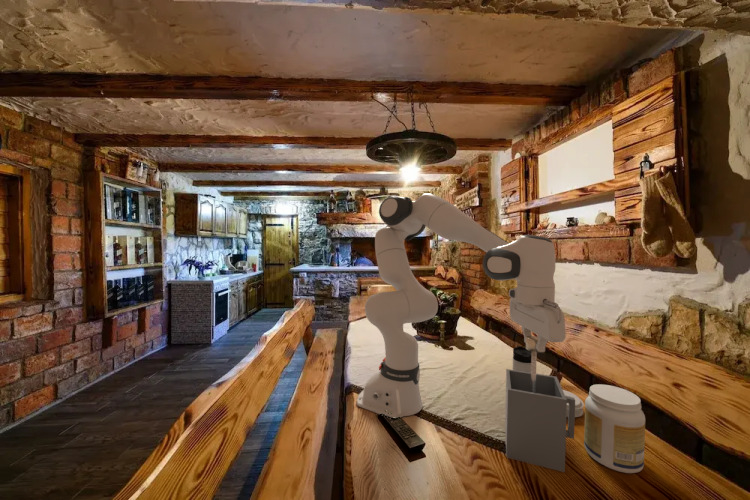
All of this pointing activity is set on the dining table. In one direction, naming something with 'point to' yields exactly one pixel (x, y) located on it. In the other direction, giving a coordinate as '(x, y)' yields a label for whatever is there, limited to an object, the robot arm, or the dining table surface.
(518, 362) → the travel mug
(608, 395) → the supplement tub
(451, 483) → the dining table surface
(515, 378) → the box
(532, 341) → the plunger
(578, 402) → the lid
